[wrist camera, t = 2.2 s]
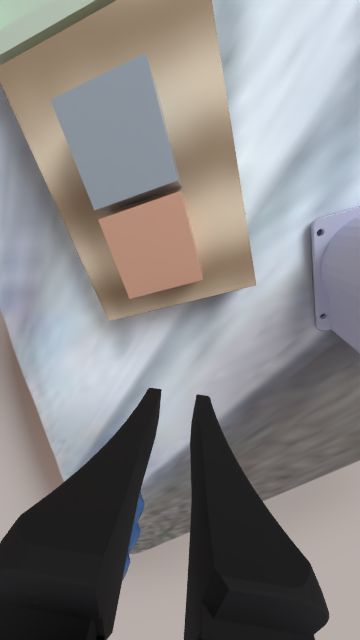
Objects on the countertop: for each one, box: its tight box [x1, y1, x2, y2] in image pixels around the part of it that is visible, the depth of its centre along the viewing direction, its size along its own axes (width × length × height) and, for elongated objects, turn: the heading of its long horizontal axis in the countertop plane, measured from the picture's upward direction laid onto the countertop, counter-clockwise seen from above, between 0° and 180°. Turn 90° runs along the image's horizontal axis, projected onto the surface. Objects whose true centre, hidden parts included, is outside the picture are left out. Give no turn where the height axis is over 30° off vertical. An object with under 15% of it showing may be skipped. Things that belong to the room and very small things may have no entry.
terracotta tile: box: [98, 191, 203, 299], centre depth 14 cm, size 5×5×2 cm
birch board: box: [0, 0, 256, 321], centre depth 15 cm, size 16×12×3 cm
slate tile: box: [51, 53, 182, 212], centre depth 12 cm, size 5×5×2 cm
